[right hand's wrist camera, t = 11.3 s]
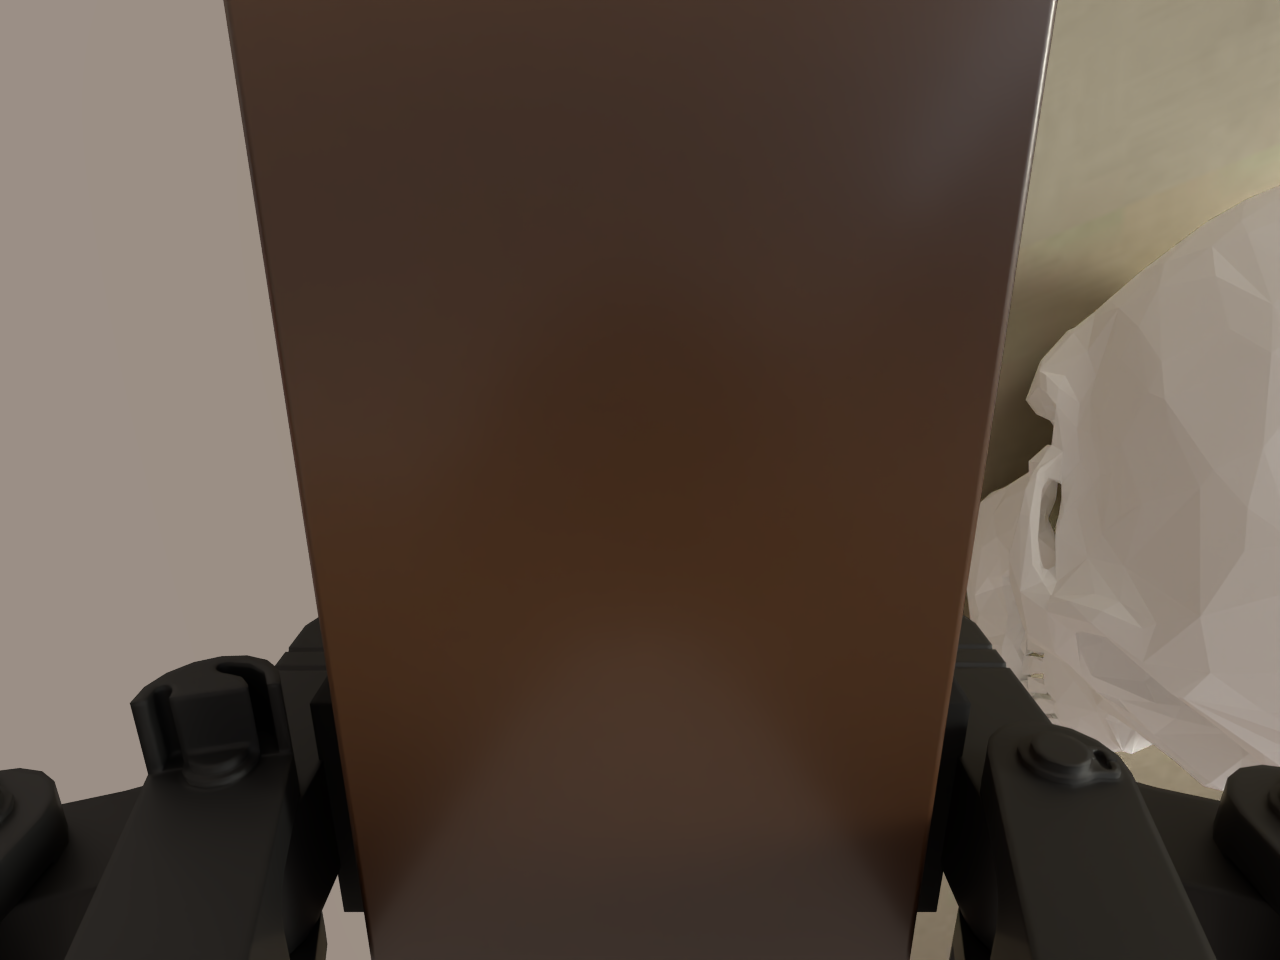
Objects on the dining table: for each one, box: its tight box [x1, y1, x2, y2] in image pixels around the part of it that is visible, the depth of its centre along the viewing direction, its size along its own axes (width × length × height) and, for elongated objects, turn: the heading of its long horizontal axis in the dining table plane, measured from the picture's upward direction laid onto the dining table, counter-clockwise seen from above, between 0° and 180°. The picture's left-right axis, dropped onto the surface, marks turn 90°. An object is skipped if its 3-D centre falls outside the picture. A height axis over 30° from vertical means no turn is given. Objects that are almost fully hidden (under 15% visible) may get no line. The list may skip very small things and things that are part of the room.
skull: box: [967, 185, 1280, 791], centre depth 24 cm, size 13×22×16 cm, turn 165°
